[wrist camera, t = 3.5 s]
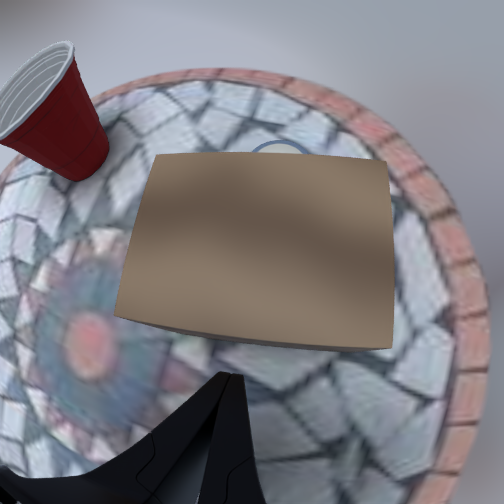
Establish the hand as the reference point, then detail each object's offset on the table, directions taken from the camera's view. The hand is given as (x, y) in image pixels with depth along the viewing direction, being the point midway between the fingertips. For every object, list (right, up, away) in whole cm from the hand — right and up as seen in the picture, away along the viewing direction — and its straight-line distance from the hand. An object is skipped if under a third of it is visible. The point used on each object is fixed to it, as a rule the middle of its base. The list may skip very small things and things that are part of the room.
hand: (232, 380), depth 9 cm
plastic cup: (-16, +14, +17) cm, 27 cm away
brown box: (+2, +2, +10) cm, 11 cm away
